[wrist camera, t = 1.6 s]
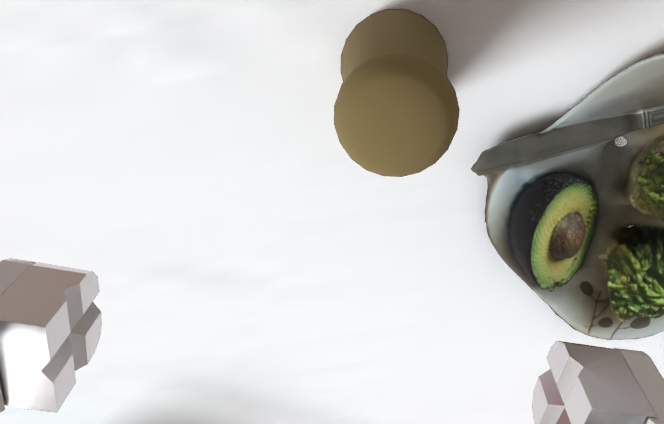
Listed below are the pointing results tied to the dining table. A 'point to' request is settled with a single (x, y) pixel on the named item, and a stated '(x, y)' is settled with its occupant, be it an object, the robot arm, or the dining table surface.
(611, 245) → the salad plate
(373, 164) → the cork
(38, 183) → the dining table surface
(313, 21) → the dining table surface
